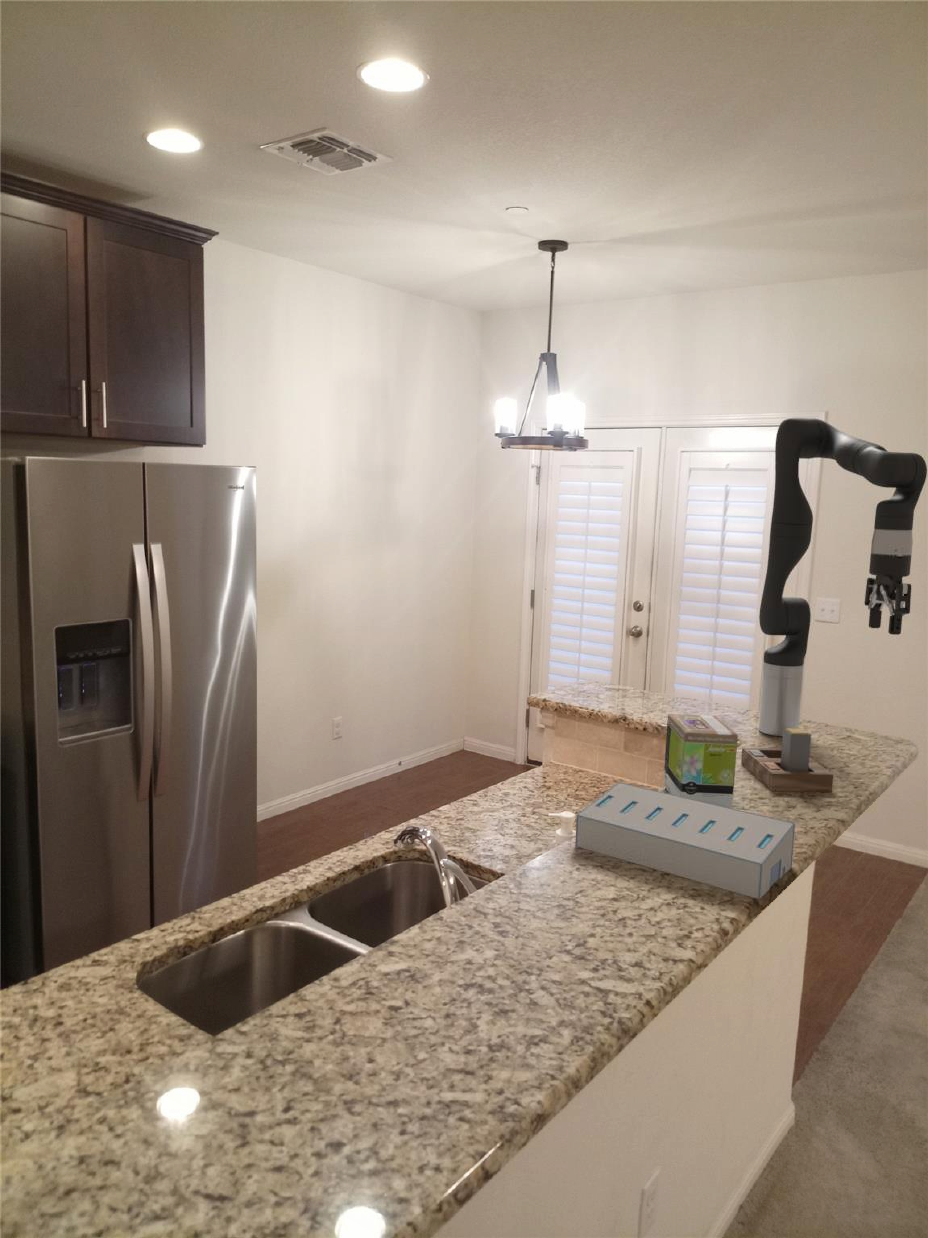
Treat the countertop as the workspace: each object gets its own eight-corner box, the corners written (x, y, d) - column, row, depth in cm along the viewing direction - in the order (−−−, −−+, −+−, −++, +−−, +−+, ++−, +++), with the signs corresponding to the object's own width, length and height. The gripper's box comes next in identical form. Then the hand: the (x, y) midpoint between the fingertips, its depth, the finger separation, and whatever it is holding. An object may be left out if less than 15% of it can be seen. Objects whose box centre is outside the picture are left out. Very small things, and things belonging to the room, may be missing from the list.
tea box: (734, 813, 161) (739, 733, 159) (678, 811, 162) (683, 732, 160) (712, 786, 176) (717, 713, 174) (661, 785, 176) (665, 712, 174)
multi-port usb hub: (575, 848, 144) (577, 803, 143) (617, 824, 156) (619, 782, 155) (759, 902, 126) (763, 851, 125) (791, 870, 138) (795, 823, 137)
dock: (741, 763, 192) (742, 746, 192) (796, 764, 192) (797, 747, 192) (771, 791, 174) (772, 772, 174) (832, 792, 174) (833, 773, 174)
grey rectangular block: (779, 777, 181) (783, 727, 179) (799, 777, 181) (803, 728, 179) (787, 783, 177) (790, 733, 175) (807, 784, 177) (811, 733, 175)
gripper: (856, 549, 188) (850, 625, 191) (889, 554, 174) (882, 636, 176) (892, 550, 188) (885, 626, 191) (928, 554, 174) (920, 636, 177)
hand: (884, 631), depth 184 cm, fingers open, 8 cm apart
